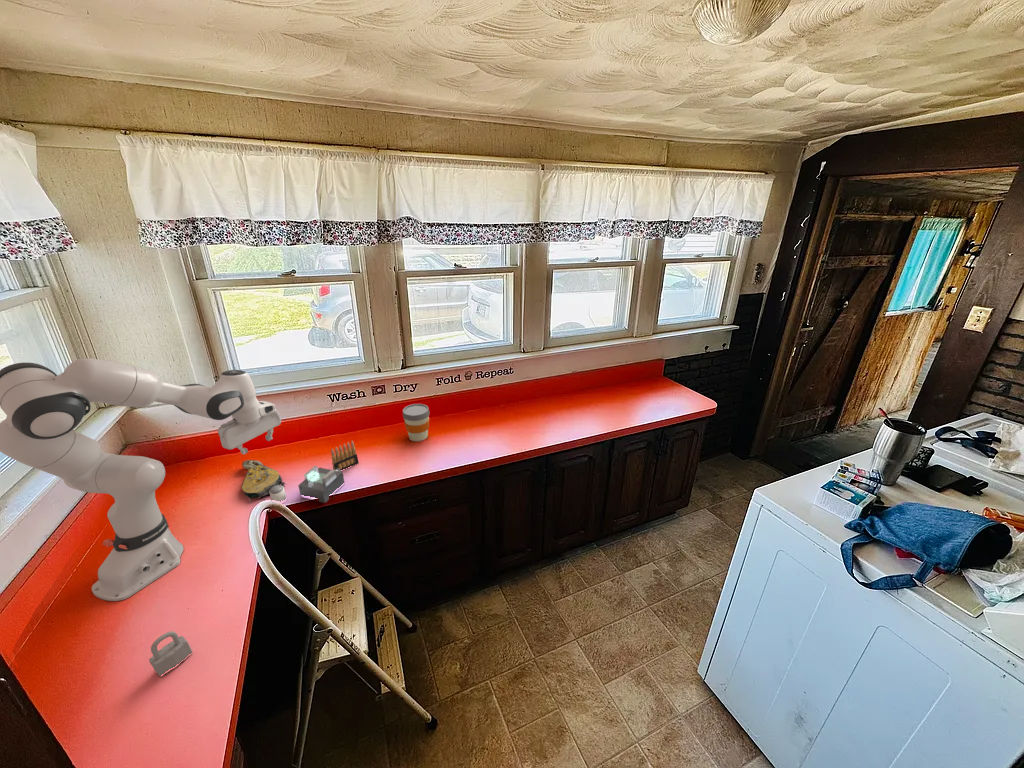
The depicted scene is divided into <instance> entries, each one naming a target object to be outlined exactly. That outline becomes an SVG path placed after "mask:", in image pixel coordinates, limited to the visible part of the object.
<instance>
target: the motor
mask: <svg viewBox="0 0 1024 768" xmlns="http://www.w3.org/2000/svg"><path fill="white" fill-rule="evenodd" d="M303 476H304V479H303V481H302V482H300V483H299V484H298V489H299V495H300V496H301V495H304V496H310V497H315V498H318V499H319V503H324V504H326V503H327V502H328V501H329V500H330V499H329V495H330V494H332V493H333V492H334V491H335V490H336V489H337V488H339V487H340V486H341V485H342V484H343V483H345V478H344V473H343V471H341V470H340V468H336V469H335V470H333V468H331V469H329V468H324V467H318V466H317V465H314V466H313V467H312V468H310V469H309V470H308V471H307V472H305V473H304V474H303ZM345 484H346V483H345Z"/></svg>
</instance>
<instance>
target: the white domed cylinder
mask: <svg viewBox="0 0 1024 768" xmlns="http://www.w3.org/2000/svg"><path fill="white" fill-rule="evenodd" d="M269 493H270V494H269V496H270V499H271V501H272V500H276V501H280V502H281V500H282V501H283V500H285V499H286V497H287V493H286V489H285V487H283V486H282V485H276V486H274V487H272V488H271V489H270V491H269Z"/></svg>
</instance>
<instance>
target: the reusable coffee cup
mask: <svg viewBox="0 0 1024 768" xmlns="http://www.w3.org/2000/svg"><path fill="white" fill-rule="evenodd" d="M430 413H431V412H430V409H429V406H428V405H426V404H423V403H413V404H409V405H407V406H405V407H404V408H403V409H402V418H403V420H404V421H403V422H404V426H405V430H406V432H407V433H408V438H409V440H411V441H412V442H422V441H424V440H427V438H428V436H429V435H428V434H429V427H430V417H429V416H430Z"/></svg>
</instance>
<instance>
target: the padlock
mask: <svg viewBox="0 0 1024 768" xmlns="http://www.w3.org/2000/svg"><path fill="white" fill-rule="evenodd" d="M169 637H171V638H172V641H171V642H169V643H167V644H166V645H164V646H163V647H162V648H160V649H158V645H159V644H160V643H162V642H163V641H164V640H165V639H168V638H169ZM150 646H151V647H150V652H151V654H152V656H151V657H150V658H148V661H149V664H150V665H151V666H152V668H153V670H154V672H155V671H156V672H157V673H158V674H157V673H156V672H155V673H156V674H157V675H158V677H159V676H161V675H162V674H164V673H165V672H166V671H168V670H169V669H171V668H173V667H175V666H176V665H177V664H179V663H180V662H181V661H182V660H184V659H185V658H186V657H187V656H188V655H189V654H191V653H192V652H193V650H192V648H191V646H190V644H189V642H188V640H187V639H186V638H185V637H184V636H183V635H180V636H179V635H178V633H177V632H176V631H173V630H171V631H167V632H165V633H164V634H162V635H160V636H159V637H157V639H155V640H154V642H153V643H152V644H151V645H150ZM192 654H193V653H192ZM192 654H191V655H192Z"/></svg>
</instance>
